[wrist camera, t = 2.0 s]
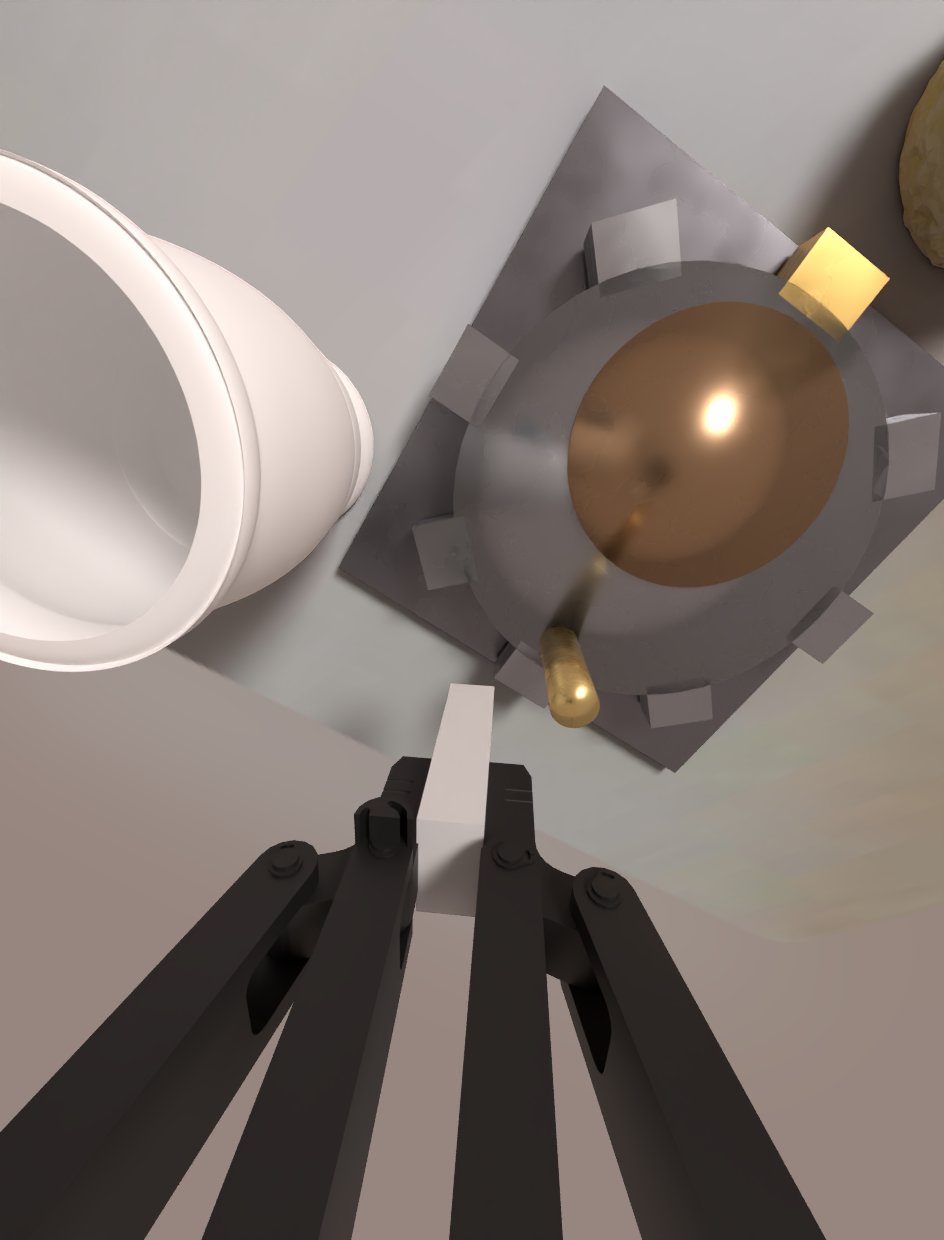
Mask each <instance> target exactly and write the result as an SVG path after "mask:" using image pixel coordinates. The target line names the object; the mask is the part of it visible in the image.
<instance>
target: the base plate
mask: <svg viewBox="0 0 944 1240" xmlns="http://www.w3.org/2000/svg"><path fill="white" fill-rule="evenodd" d="M672 199H676V200H677V214H678V229H679V243H680V257H681V261H701V260H706V261H715V262H725V263H734V264H739V265H743V266H747V267H750V268H754V269H758V270H761V271H765V272H768V273H770V274H773V275H775V276H777V274H778V273H779V272H780V270H781V269H782V267H783V266H784V265H785V263H786V262H787V261H788V259H789V258H790V256H791V255H792V254H793V252H794V251H795V250H796V248H797V247H798V245H797V244H795V243H794V242H793V241H792V240H790V239H789V238H788V237H787V236H786V235H784V234H783V233H782V232H781V231H780V230H778V229H777V228H776V227H775V226H774V225H772V224H771V223H770V222H769V221H768V220H766V219H765V218H764V217H763V216H761V215H760V214H759V213H758V212H757V211H755V210H754V209H753V208H752V207H751V206H749V205H748V204H747V203H746V202H745V201H743V200H742V199H741V198H740V197H738V196H737V195H736V194H735V193H734V192H732V191H731V190H730V189H729V188H728V187H726V186H725V185H724V184H723V183H722V182H720V181H719V180H718V179H717V178H715V177H714V176H713V175H712V174H711V173H709V172H708V171H707V170H706V169H705V168H703V167H702V166H701V165H700V164H699V163H697V162H696V161H695V160H694V159H693V158H691V157H690V156H689V155H688V154H686V153H685V152H684V151H683V150H682V149H680V148H679V147H678V146H677V145H676V144H674V143H673V142H672V141H671V140H670V139H668V138H667V137H666V136H665V135H663V134H662V133H661V132H660V131H659V130H657V129H656V128H655V127H654V126H653V125H651V124H650V123H649V122H648V121H647V120H645V119H644V118H643V117H642V116H640V115H639V114H638V113H637V112H636V111H634V110H633V109H632V108H631V107H630V106H628V105H627V104H626V103H625V102H624V101H622V100H621V99H620V98H619V97H618V96H616V95H615V94H614V93H613V92H611V91H610V90H609V89H608V88H607V87H605V86H604V87H603V88H602V90H601V92H600V94H599V96H598V97H597V99H596V101H595V103H594V105H593V107H592V108H591V110H590V112H589V114H588V116H587V117H586V119H585V121H584V123H583V125H582V127H581V128H580V130H579V132H578V134H577V136H576V137H575V139H574V141H573V143H572V145H571V147H570V148H569V150H568V152H567V154H566V156H565V157H564V159H563V161H562V163H561V165H560V167H559V168H558V170H557V172H556V174H555V176H554V177H553V179H552V181H551V183H550V185H549V187H548V188H547V190H546V192H545V194H544V196H543V197H542V199H541V201H540V203H539V205H538V207H537V208H536V210H535V212H534V214H533V216H532V217H531V219H530V221H529V223H528V225H527V227H526V228H525V230H524V232H523V234H522V236H521V237H520V239H519V241H518V243H517V245H516V247H515V248H514V250H513V252H512V254H511V256H510V257H509V259H508V261H507V263H506V265H505V267H504V268H503V270H502V272H501V274H500V276H499V277H498V279H497V281H496V283H495V285H494V287H493V288H492V290H491V292H490V294H489V296H488V297H487V299H486V301H485V303H484V305H483V307H482V308H481V310H480V312H479V314H478V316H477V317H476V319H475V321H474V323H473V325H472V327H473V328H474V329H476V330H477V331H479V332H480V333H481V334H483V335H484V336H486V337H487V338H488V339H490V340H491V341H493V342H494V343H495V344H497V345H498V346H500V347H501V348H502V349H504V350H505V351H507V352H508V353H509V354H510V352H511V351H512V350H513V349H514V348H515V347H516V346H517V344H518V343H519V342H520V341H521V340H522V339H523V337H524V336H525V335H526V334H527V333H529V332H530V331H531V330H532V329H533V328H534V327H535V326H536V325H538V324H539V323H540V322H541V321H542V320H543V319H544V318H545V317H546V316H548V315H549V314H550V313H551V312H553V311H554V310H556V309H557V308H559V307H560V306H561V305H563V304H564V303H566V302H567V301H569V300H570V299H572V298H573V297H575V296H576V295H578V294H580V293H582V292H583V291H585V290H587V289H589V285H588V277H587V269H586V261H585V253H584V245H583V243H584V240H585V238H586V235H587V233H588V230H589V228H590V225H591V223H592V222H596V221H599V220H603V219H606V218H610V217H613V216H617V215H620V214H623V213H627V212H630V211H634V210H637V209H641V208H644V207H648V206H651V205H655V204H658V203H662V202H665V201H669V200H672ZM848 331H849V332H850V333H851V335H852V336H853V338H854V339H855V340H856V342H857V343H858V344H859V346H860V347H861V349H862V351H863V353H864V355H865V357H866V358H867V360H868V362H869V364H870V366H871V368H872V370H873V372H874V374H875V377H876V380H877V383H878V386H879V390H880V393H881V396H882V399H883V402H884V407H885V413H886V418H890V417H895V416H899V415H907V414H923V413H940V412H941V422H940V434H939V445H938V457H937V469H936V481H935V490H930V491H925V492H920V493H915V494H910V495H905V496H900V497H895V498H890V499H885V500H883V503H882V507H881V511H880V515H879V519H878V522H877V525H876V527H875V530H874V532H873V535H872V537H871V540H870V542H869V545H868V547H867V549H866V551H865V553H864V555H863V557H862V559H861V561H860V562H859V564H858V566H857V568H856V570H855V572H854V574H853V575H852V576H851V578H850V579H849V581H848V582H847V584H846V585H845V587H844V588H843V589H842V591H843V592H844V593H846V594H847V595H848V596H849V595H850V594H851V593H852V592H853V591H854V590H855V589H856V588H857V587H858V586H859V585H860V584H861V583H862V582H863V581H864V580H865V579H866V578H867V576H868V575H869V574H870V573H871V572H872V571H873V570H874V569H875V568H876V567H877V566H878V565H879V564H880V563H881V562H882V561H883V560H884V559H885V558H886V557H887V556H888V555H889V554H890V553H891V552H892V551H893V550H894V549H895V548H896V547H897V546H898V545H899V544H900V543H901V542H902V541H903V540H904V539H905V538H906V537H907V536H908V535H909V534H910V533H911V532H912V531H913V530H914V529H915V527H916V526H917V525H918V524H919V523H920V522H921V521H922V520H923V519H924V518H925V517H926V516H927V515H928V514H929V513H930V512H931V511H932V510H933V509H934V508H935V507H936V506H937V505H938V504H939V503H940V502H941V501H942V500H943V499H944V366H943V365H942V364H941V363H939V362H938V361H937V360H936V359H934V358H933V357H932V356H931V355H930V354H928V353H927V352H926V351H925V350H924V349H922V348H921V347H920V346H919V345H918V344H916V343H915V342H914V341H913V340H911V339H910V338H909V337H908V336H907V335H905V334H904V333H903V332H902V331H901V330H899V329H898V328H897V327H896V326H895V325H893V324H892V323H891V322H890V321H888V320H887V319H886V318H885V317H884V316H882V315H881V314H880V313H879V312H878V311H876V310H875V309H874V308H873V307H872V306H870V305H868V307H867V308H866V309H865V310H864V312H863V313H862V314H861V315H860V316H859V318H858V319H857V320H856V321H855V323H854V324H853V325H852V326H851V328H850V329H849V330H848ZM468 424H469V422H468V421H466V420H465V419H463V418H462V417H460V416H459V415H457V414H456V413H455V412H453V411H452V410H450V409H449V408H447V407H446V406H444V405H443V404H441V403H440V402H438V401H437V400H435V399H434V398H433V397H432V399H431V401H430V403H429V405H428V406H427V408H426V410H425V412H424V414H423V416H422V417H421V419H420V421H419V423H418V425H417V426H416V428H415V430H414V432H413V434H412V436H411V437H410V439H409V441H408V443H407V445H406V446H405V448H404V450H403V452H402V454H401V456H400V457H399V459H398V461H397V463H396V465H395V466H394V468H393V470H392V472H391V474H390V476H389V477H388V479H387V481H386V483H385V485H384V486H383V488H382V490H381V492H380V494H379V496H378V497H377V499H376V501H375V503H374V505H373V506H372V508H371V510H370V512H369V514H368V516H367V517H366V519H365V521H364V523H363V525H362V526H361V528H360V530H359V532H358V534H357V536H356V537H355V539H354V541H353V543H352V545H351V546H350V548H349V550H348V552H347V554H346V556H345V557H344V559H343V561H342V563H341V565H340V566H339V568H340V569H342V570H344V571H345V572H347V573H348V574H350V575H352V576H353V577H355V578H357V579H358V580H360V581H362V582H363V583H365V584H366V585H368V586H370V587H371V588H373V589H375V590H376V591H378V592H380V593H381V594H383V595H384V596H386V597H388V598H389V599H391V600H393V601H394V602H396V603H398V604H399V605H401V606H403V607H404V608H406V609H407V610H409V611H411V612H412V613H414V614H416V615H417V616H419V617H421V618H422V619H424V620H425V621H427V622H429V623H430V624H432V625H434V626H435V627H437V628H439V629H440V630H442V631H443V632H445V633H447V634H448V635H450V636H452V637H453V638H455V639H457V640H458V641H460V642H461V643H463V644H465V645H466V646H468V647H470V648H471V649H473V650H475V651H476V652H478V653H480V654H481V655H483V656H484V657H486V658H488V659H489V660H491V661H493V662H494V663H495V661H496V659H497V658H498V657H499V655H500V654H501V652H502V651H503V650H504V648H505V647H506V646H507V644H508V643H509V641H508V640H507V639H505V638H504V637H503V635H502V634H501V633H500V632H499V631H498V629H497V628H496V627H495V626H494V624H493V623H492V622H491V621H490V620H489V618H488V617H487V615H486V614H485V612H484V610H483V609H482V607H481V606H480V604H479V602H478V601H477V599H476V597H475V595H474V593H473V591H472V589H471V586H470V584H469V582H467V583H462V584H457V585H452V586H447V587H442V588H437V589H432V590H428V587H427V584H426V580H425V576H424V572H423V568H422V564H421V561H420V557H419V553H418V549H417V545H416V541H415V538H414V534H413V530H412V527H413V526H414V525H415V524H416V523H417V522H418V521H419V520H423V519H428V518H433V517H437V516H442V515H446V514H451V513H454V511H453V494H454V483H455V473H456V467H457V463H458V458H459V454H460V449H461V445H462V441H463V438H464V435H465V433H466V430H467V427H468ZM797 648H798V647H797V646H796V645H794V644H793V643H790V644H789V645H787V646H786V647H785V648H783V649H782V650H781V651H779V652H778V653H777V654H775V655H773V656H772V657H770V658H768V659H767V660H765V661H763V662H761V663H760V664H758V665H756V666H755V667H753V668H751V669H749V670H747V671H744V672H742V673H740V674H738V675H736V676H733V677H731V678H729V679H726V680H723V681H720V682H717V683H714V684H711V699H712V713H713V719H711V720H704V721H698V722H691V723H684V724H678V725H671V726H664V727H658V728H651V727H650V725H649V723H648V721H647V719H646V717H645V715H644V713H643V711H642V709H641V705H640V697H639V695H628V694H620V693H612V692H605V691H601V690H597V689H595V690H596V693H597V696H598V699H599V702H600V709H599V712H598V715H597V716H596V718H595V719H594V720H593V721H592V722H593V723H594V724H596V725H597V726H599V727H601V728H602V729H604V730H606V731H607V732H609V733H611V734H612V735H614V736H615V737H617V738H619V739H620V740H622V741H624V742H625V743H627V744H629V745H630V746H632V747H634V748H635V749H637V750H638V751H640V752H642V753H643V754H645V755H647V756H648V757H650V758H652V759H653V760H655V761H656V762H658V763H660V764H661V765H663V766H665V767H666V768H668V769H670V770H671V771H673V772H674V773H675V772H676V771H677V770H678V769H679V768H680V767H681V766H682V765H683V764H684V763H685V762H686V761H687V760H688V759H689V758H690V757H691V756H692V755H693V754H694V753H695V752H696V751H697V750H698V749H699V748H700V747H701V746H702V745H703V744H704V743H705V742H706V741H707V740H708V739H709V738H710V737H711V736H712V735H713V734H714V733H715V732H716V731H717V730H718V729H719V728H720V726H721V725H722V724H723V723H724V722H725V721H726V720H727V719H728V718H729V717H730V716H731V715H732V714H733V713H734V712H735V711H736V710H737V709H738V708H739V707H740V706H741V705H742V704H743V703H744V702H745V701H746V700H747V699H748V698H749V697H750V696H751V695H752V694H753V693H754V692H755V691H756V690H757V689H758V688H759V687H760V686H761V685H762V684H763V683H764V682H765V681H766V680H767V679H768V678H769V676H770V675H771V674H772V673H773V672H774V671H775V670H776V669H777V668H778V667H779V666H780V665H781V664H782V663H783V662H784V661H785V660H786V659H787V658H788V657H789V656H790V655H791V654H792V653H793V652H794V651H795V650H796V649H797Z"/></svg>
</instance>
